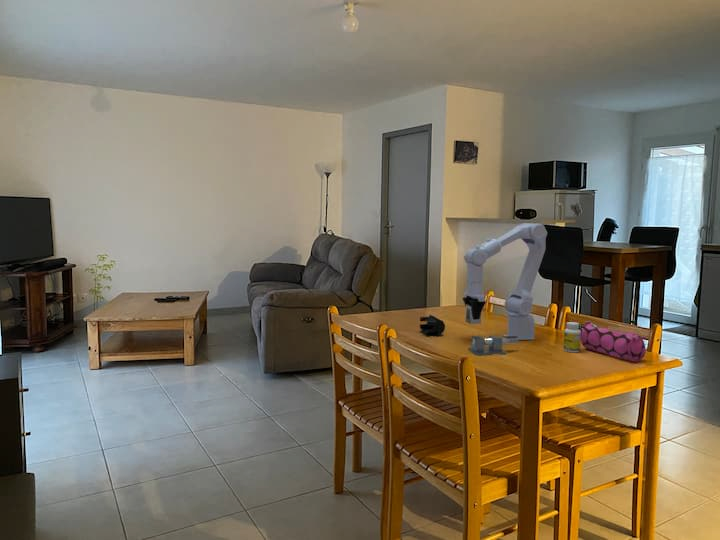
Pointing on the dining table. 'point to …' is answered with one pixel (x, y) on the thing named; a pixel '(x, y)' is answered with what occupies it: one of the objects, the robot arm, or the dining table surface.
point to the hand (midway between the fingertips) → (473, 317)
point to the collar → (471, 315)
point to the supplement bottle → (572, 337)
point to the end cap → (432, 326)
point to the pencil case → (613, 342)
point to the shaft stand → (490, 344)
